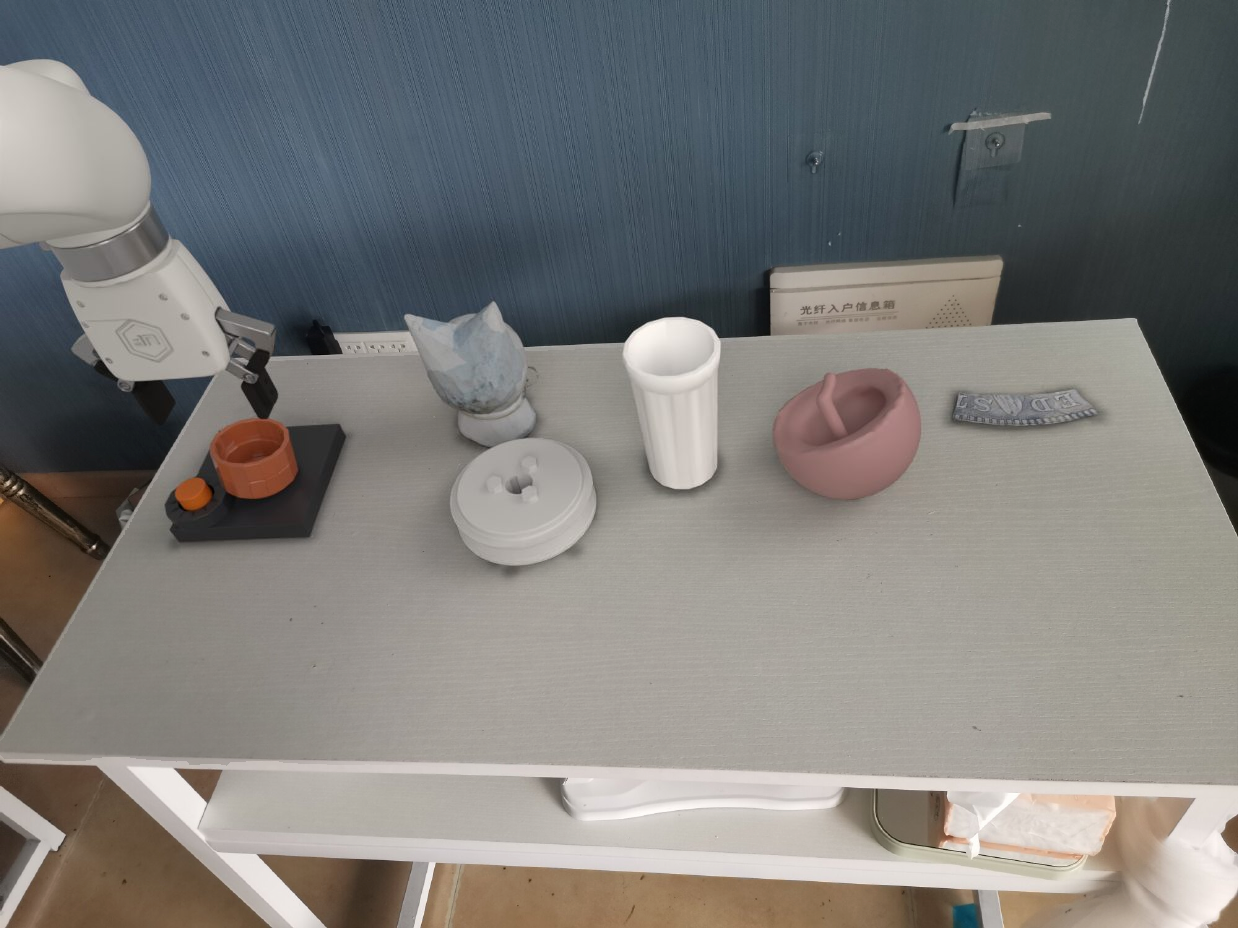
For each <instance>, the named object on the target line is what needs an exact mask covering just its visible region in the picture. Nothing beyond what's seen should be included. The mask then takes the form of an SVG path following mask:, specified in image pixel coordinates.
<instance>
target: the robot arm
mask: <svg viewBox="0 0 1238 928" xmlns="http://www.w3.org/2000/svg"><path fill="white" fill-rule="evenodd" d="M150 168H151V167H150V164H149V161H148V157H147V155H146V152H145V150H144V148H143V146H142V144H141V142H140V141H139V139H138V138H137V136H136V134H135V133H134V131H133V130H132V129H131V127H130V126H129V125H128V124H127V123H126V122H125V120H123V119H122V117H120V116H119V115H118V113H116V112H115V111H114V110H112V109H111V108H110V107H109V106H108V105H107V104H105V103H103V102H102V101H100V100H99V99H97V98H95V97H94V96H93V95H91V93H90V91H89V89H88V88H87V86H86V84H85V83H84V81H83V80H82V78H81V77H80V75H78V73H77V72H76V71H74V69H73V68H71V67H70V66H68V65H67V64H65V63H63V62H61V61H58V60H55V59H48V58H40V59H26V60H21V61H18V62H17V61H16V62H13V63H9V64H6V65H1V64H0V250H5V249H11V248H16V247H22V246H28V245H31V244H34V243H38V245H39V248H40V249H41V250H43V251H44V252H52V253H53V254H54V255H55V257H56V259H57V260H58V261H59V263H60V264H61V266H62V267H63V269H62V270H61V272H60V275H59V276H60V280H61V283H62V287H63V289H64V291H65V294H66V297H67V300H68V302H69V304H70V306H71V309H72V311H73V313H74V315H75V317H76V319H77V321H78V323H79V325H80V326H81V328H82V330H83V332H84V333H83V334H82V335H80V336H79V337H77V340H76V341H75V342H74V344H73V345H72V346H71V348H70V349H71V352H72V353H73V354H74V355H75V356H77V357H78V358H80V359H81V360H82V361H84V362H85V363H87V364H88V365H90V366H93V370H94V371H95V372H96V373H97V374H99V375H101V376H103V377H106V378H107V379H109V380H110V381H111V380H112V381H113V382H115V383H117V387H118V389H120V390H121V391H123V392H126V393H131V395H132V396H133V398H134V399H135V401H136V402H137V403H138V405H139V406H140V408H141V409H142V411H143V412H144V413H145V415H146V416H147V418H148V419H149V420H150V422H151V424H152V426H154V427H160V426H163V425H164V424H165V423H166V421H167V419H168V418H169V416H170V414H171V413H172V411H173V409H174V408H175V406H176V403H177V402H176V400H175V397H174V396H173V395H172V393H171V391H170V390H169V389H168V387H167V386H166V384H165V382H164V380H179V379H193V378H205V377H213V376H217V375H219V374H221V373H223V372H224V371H226V372H228V373H230V374H231V375H233V376H235V377H237V378H238V379H239V380H241V381H242V382H241V383H240V390H241V391H242V393H243V395H244V396H245V398H246V399H247V401H248V403H249V405H250V407H251V408H252V410H253V411H254V413H255V415H256V418H260V419H268V418H270V415H271V413H272V412H273V409H274V407H275V405H276V403H277V401H278V399H279V392H278V389H277V386H276V385H275V384H274V381H273V379H272V377H271V376H270V374H269V372H268V370H267V369H266V366H267V365H268V363H269V361H270V359H271V357H272V355H273V353H274V351H275V349H276V347H275V342H276V333H277V327H276V326H275V325H274V324H273V323H271V322H267V321H263V320H261V319H257V318H253V317H251V316H247V315H243V314H240V313H237V312H233V311H232V310H231V309H230V308H229V306H228V304H227V302H226V301H225V299H224V298H223V296H222V294H221V293H220V292H219V289H217V286H216V285H215V284H214V282H213V281H212V279H211V278H210V277H209V275H208V274H207V273H206V271H205V270H204V268H203V267H202V266H201V264H200V263H199V262H198V261H197V259H196V257H194V256H193V254H191V252H190V251H189V249H187V247H185V245H184V244H183V243H182V242H181V240H179V239H173V238H172V237H171V236H170V235H171V234H170V233H169V232H168V230H167V228H166V226H165V224H164V223H163V221H162V219H161V217H160V215H159V214H158V212H157V210H156V208H155V207H154V205H153V203H152V201H151V200H150V197H151V190H152V174H151V169H150ZM243 338H244V339H247V340H250V341H252V343H253V344H254V346H252V345H250V344H249V343H247V342H245V341H244V340H243ZM234 354H236V355H238V356H239V357H241V358H243V359H244V360H246V361H247V363H243V362H241V361H239V359H236V358H235V357H233V355H234Z"/></svg>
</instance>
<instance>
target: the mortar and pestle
mask: <svg viewBox="0 0 1238 928" xmlns="http://www.w3.org/2000/svg"><path fill="white" fill-rule="evenodd" d="M921 418H922V417H921V412H920V408H919V404H918V401H917V400H916V397H915V395H914V393H913V391H912V390H911V388H910V387H909V385H908V384H907V382H906V381H905V380H904V378H903V377H901V375H899V374H898V373H896V372H894V371H892V370H890V369H888V368H877V367H875V368H874V367H868V368H858V369H853V370H848V371H845V372H840V373H837V374H835V373H833V372H827V373H825V374H824V377H823V379H822V380H820V381H818V382H816V383H814V384H812V385H810V386H808V387H806V388H805V389H804V390H802V391H800V392H798V393H797V394H796V395H794V396H793V397H792V398H791V399H789V400H788V401H786V403H784V405H783V406H782V407H781V408H780V409H779V410H778V412H777V414H776V416H775V418H774V422H773V426H772V441H773V446H774V449H775V452H776V453H777V456H778V458H779V460H780V462H781V465H783V467H784V468H785V470H786V471H787V473H789V475H790V476H791V477H792V478H793V479H794V480H795V481H796V482H797V483H799V484H800V485H801V486H802V487H804V488H805V489H807V490H808V491H810V492H812V493H814V494H817V495H818V496H822V497H825V498H829V499H834V500H843V501H844V500H845V501H846V500H858V499H863V498H864V499H865V498H867V497H870V496H873V495H876V494H878V493H880V492H882V491H884V490H885V489H887V488H889V487H891V486H892V485H893V484H894V483H896V482H897V481H898V480H899V479H900V478H901V477H902V476H903V475H904V474H905V473H906V472H907V470H908V469H909V467H910V466H911V464H912V463H913V462H914V459H915V457H916V454H917V452H918V449H919V445H920V442H921V436H922V419H921Z"/></svg>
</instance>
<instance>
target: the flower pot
mask: <svg viewBox="0 0 1238 928" xmlns="http://www.w3.org/2000/svg"><path fill="white" fill-rule="evenodd" d="M286 427H287V426H285V424H283V423H282V422H281V421H278V420H275V419H273V418H270V417H268V419H260V418H258V417H252V418H247V419H246V418H245V419H241V420H238V421H236V422H233V423H231V424H228V425H227V426H225V427H224V428H222V429H221V431H220V430H219V431H220V432H219V431H218V432H217V433H215V434H214V437H213V438H212V440H211V441H210V443H209V450H210V455H211V458H212V461H213V463H214V466H215V469H216V471H217V474H218V477H219V480H220V482H221V485H222V486H223V488H224V489H225V490H226V491H227V492H228V493H229V494H232V495H234V496H236V497H240V498H246V499H259V498H265V497H268V496H271V495H274V494H276V493H278V492H280V491H281V490H283V489H284V488H285V487H286V486H288V485H289V484H290V483H291V482H292V481H293V480H294V478H295V476H296V474H297V472H298V464H297V459H296V456H295V452H294V449H293V445H292V441H291V438H290V434H289V431H288V429H287V428H286Z"/></svg>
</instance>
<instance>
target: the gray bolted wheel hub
mask: <svg viewBox="0 0 1238 928" xmlns="http://www.w3.org/2000/svg"><path fill="white" fill-rule="evenodd" d="M592 475H593V474H592V471H591V468H590V465H589V463H588V461H587V460H586V459H585V458H584V457H583V455H582V454H581V453H580V452H578V450H576V449H575V448H573V447H571V446H570V445H568V444H567V443H564V442H561V441H559V440H556V439H550V438H545V437H525V438H523V439H516V440H512V441H508V442H505V443H502V444H499V445H497V446H494V447H489V448H488V449H486V450H484V451H483V452H481V453H479V455H477V456H476V457H473V459H472V460H471V461H470V462H468V463H467V465H466V466H464V467H463V469H462V470H461V471H460V473H459V474H458V476H457V477H456V479H455V481H454V484H453V485H452V488H451V491H450V496H449V510H450V513H451V516H452V518H453V521H454V523H455V525H456V527H457V530H458V533H459V536H460V538H461V540H462V542H463V544H464V545H465V546H466V547H467V548H468V550H470V551H471V552H472V553H473V554H474V555H476V556H477V557H478V558H481V559H483V560H485V561H486V562H490V563H494V564H496V565H502V566H527V565H533V564H537V563H541V562H545V561H547V560H550V559H552V558H554V557H557V556H558V555H561V554H562V553H564V552H565V551H567V550H569V549H570V548H571V547H573V546H574V545H575V544H576V543H577V542H578V541H579V540H580V539H581V538H582V537H583V536H584V534H586V532H587V531H588V529H589V528H590V527H591V524H592V523H593V521H594V517H595V515H596V510H597V493H596V489H595V486H594V484H593V482H594V481H593V480H594V479H593V476H592Z"/></svg>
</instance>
